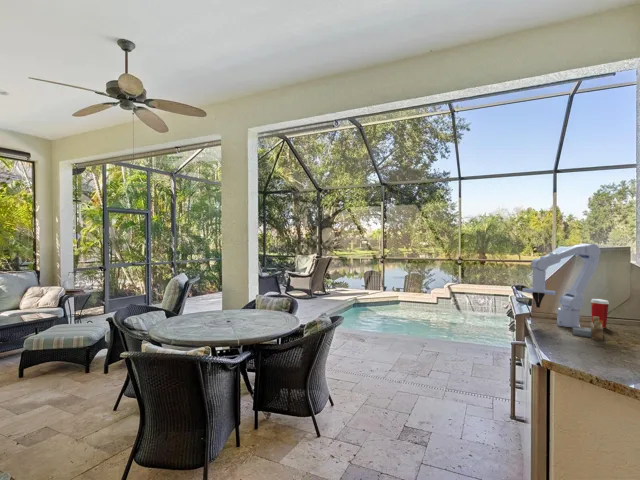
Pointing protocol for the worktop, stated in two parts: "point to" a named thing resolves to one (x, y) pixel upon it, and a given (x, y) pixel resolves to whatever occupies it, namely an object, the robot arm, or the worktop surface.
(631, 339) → the worktop surface
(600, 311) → the paper cup
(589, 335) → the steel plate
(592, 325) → the bench dog block
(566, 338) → the worktop surface
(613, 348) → the worktop surface
